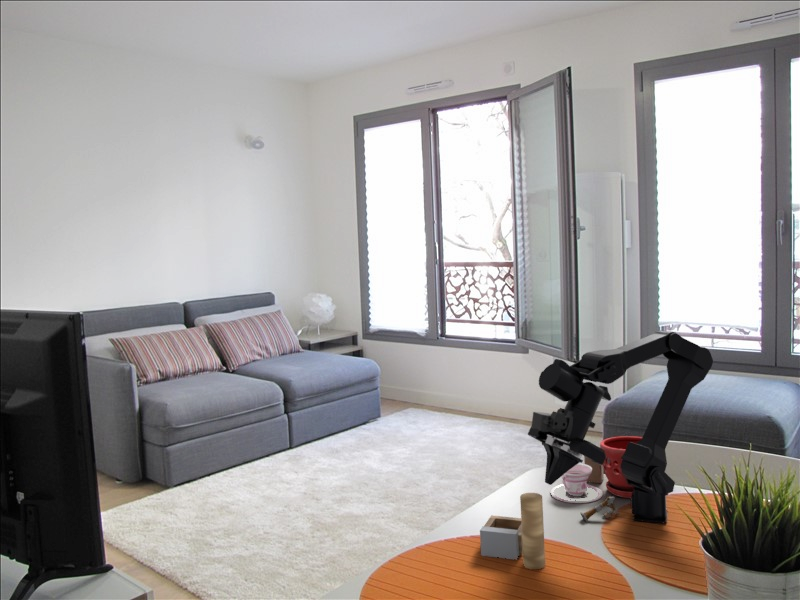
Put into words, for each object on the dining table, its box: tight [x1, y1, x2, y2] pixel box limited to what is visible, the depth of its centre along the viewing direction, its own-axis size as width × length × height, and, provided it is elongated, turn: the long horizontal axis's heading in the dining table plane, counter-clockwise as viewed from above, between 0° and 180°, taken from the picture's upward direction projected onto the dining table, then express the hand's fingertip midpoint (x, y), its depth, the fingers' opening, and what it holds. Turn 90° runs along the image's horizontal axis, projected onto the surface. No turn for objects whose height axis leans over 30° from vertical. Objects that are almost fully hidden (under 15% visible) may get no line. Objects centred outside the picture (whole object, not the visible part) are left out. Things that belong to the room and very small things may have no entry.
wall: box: [479, 525, 520, 561], centre depth 132 cm, size 7×2×5 cm, turn 67°
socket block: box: [483, 514, 523, 556], centre depth 136 cm, size 8×8×4 cm
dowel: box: [519, 492, 546, 570], centre depth 127 cm, size 4×4×13 cm
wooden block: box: [583, 455, 605, 484], centre depth 169 cm, size 4×4×8 cm
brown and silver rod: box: [580, 496, 619, 523], centre depth 146 cm, size 2×8×4 cm, turn 101°
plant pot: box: [599, 435, 643, 499], centre depth 160 cm, size 13×13×12 cm
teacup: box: [549, 462, 604, 504], centre depth 161 cm, size 12×12×6 cm
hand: (547, 483), depth 134 cm, fingers closed
